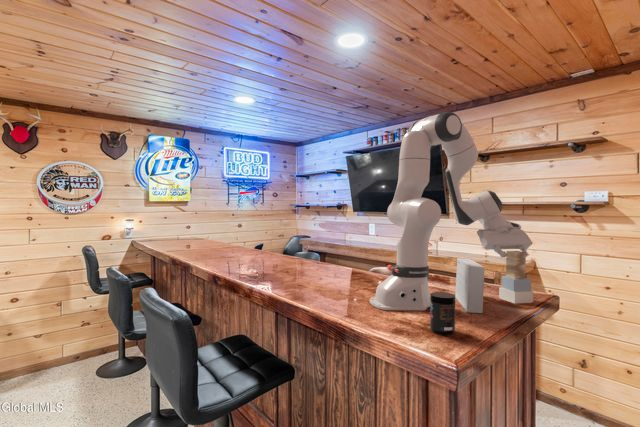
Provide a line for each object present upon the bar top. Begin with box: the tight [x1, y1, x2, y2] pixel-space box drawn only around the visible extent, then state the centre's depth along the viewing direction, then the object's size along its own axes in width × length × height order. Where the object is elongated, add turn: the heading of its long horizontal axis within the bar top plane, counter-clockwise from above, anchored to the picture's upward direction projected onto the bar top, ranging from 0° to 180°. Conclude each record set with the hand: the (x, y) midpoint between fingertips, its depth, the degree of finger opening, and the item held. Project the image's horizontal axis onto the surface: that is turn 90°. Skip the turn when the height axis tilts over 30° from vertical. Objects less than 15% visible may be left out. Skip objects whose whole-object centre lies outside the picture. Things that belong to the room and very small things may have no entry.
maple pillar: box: [505, 250, 527, 279], centre depth 129 cm, size 5×5×10 cm
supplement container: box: [429, 291, 456, 336], centre depth 95 cm, size 7×7×10 cm
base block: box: [498, 286, 534, 305], centre depth 129 cm, size 8×8×4 cm
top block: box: [501, 275, 532, 292], centre depth 129 cm, size 7×7×4 cm
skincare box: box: [454, 257, 485, 314], centre depth 122 cm, size 21×5×16 cm, turn 168°
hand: (515, 256), depth 129 cm, fingers open, 8 cm apart
